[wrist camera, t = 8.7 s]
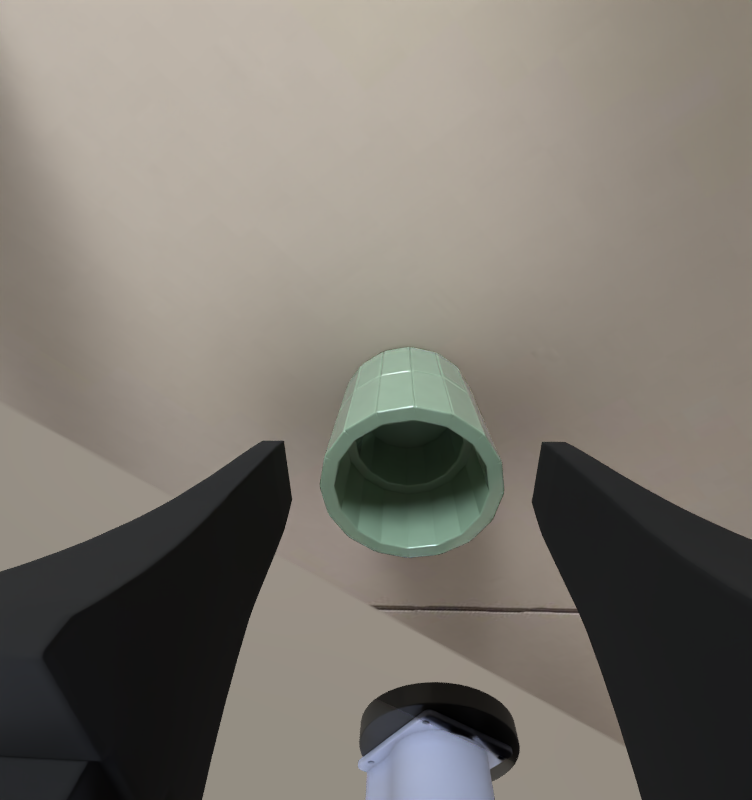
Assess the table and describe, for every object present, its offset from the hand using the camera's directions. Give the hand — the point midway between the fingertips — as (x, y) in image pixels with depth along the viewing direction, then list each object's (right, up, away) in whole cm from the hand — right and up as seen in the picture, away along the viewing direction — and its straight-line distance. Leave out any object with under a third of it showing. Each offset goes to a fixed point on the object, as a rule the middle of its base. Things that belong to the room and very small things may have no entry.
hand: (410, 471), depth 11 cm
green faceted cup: (0, +2, +4) cm, 5 cm away
